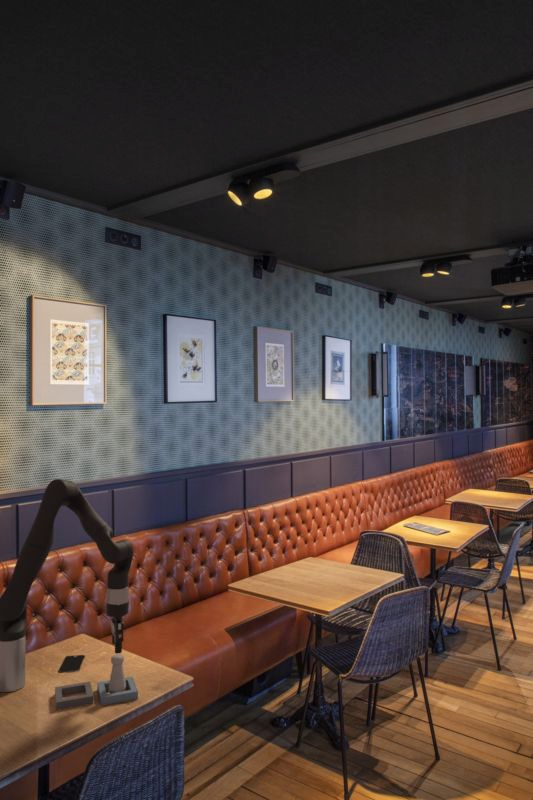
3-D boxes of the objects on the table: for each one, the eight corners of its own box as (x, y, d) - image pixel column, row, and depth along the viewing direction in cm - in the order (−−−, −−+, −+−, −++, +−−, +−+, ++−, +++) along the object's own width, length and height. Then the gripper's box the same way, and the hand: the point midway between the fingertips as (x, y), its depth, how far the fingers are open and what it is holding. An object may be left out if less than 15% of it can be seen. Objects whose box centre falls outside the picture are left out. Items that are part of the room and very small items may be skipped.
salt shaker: (104, 695, 197) (105, 656, 197) (116, 688, 202) (116, 650, 202) (118, 699, 194) (118, 660, 194) (129, 692, 199) (129, 654, 199)
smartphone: (85, 654, 231) (79, 670, 216) (85, 656, 231) (79, 672, 216) (65, 655, 230) (57, 671, 215) (65, 657, 230) (57, 673, 215)
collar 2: (100, 705, 190) (100, 697, 190) (97, 689, 201) (97, 682, 201) (138, 698, 194) (138, 691, 194) (132, 683, 206) (132, 676, 206)
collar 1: (55, 710, 187) (55, 702, 187) (54, 694, 198) (55, 687, 198) (93, 703, 191) (93, 696, 191) (90, 688, 202) (90, 681, 202)
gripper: (104, 595, 204) (103, 642, 203) (108, 607, 190) (107, 657, 190) (126, 593, 206) (125, 639, 206) (131, 605, 193) (130, 654, 193)
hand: (116, 648), depth 198 cm, fingers open, 8 cm apart
